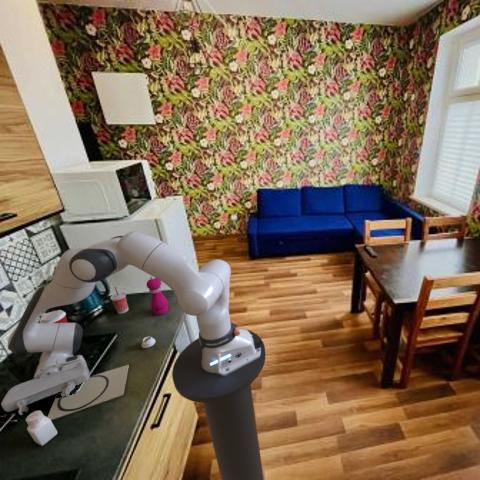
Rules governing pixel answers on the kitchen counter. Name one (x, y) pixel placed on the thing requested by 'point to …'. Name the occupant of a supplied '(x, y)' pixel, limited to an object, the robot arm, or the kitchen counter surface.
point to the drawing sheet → (92, 392)
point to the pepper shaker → (40, 427)
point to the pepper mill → (157, 296)
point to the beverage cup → (120, 302)
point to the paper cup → (54, 317)
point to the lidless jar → (148, 342)
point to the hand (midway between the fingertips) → (44, 403)
